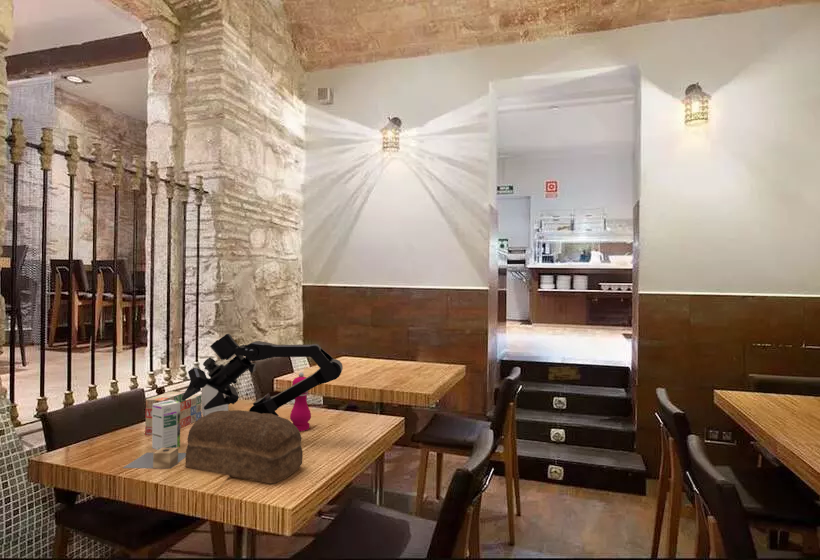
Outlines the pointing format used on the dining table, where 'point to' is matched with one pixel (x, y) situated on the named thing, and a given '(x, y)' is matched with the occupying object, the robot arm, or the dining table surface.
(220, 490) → the dining table surface
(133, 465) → the slate board
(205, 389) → the supplement box
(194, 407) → the stack of blocks
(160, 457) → the oak block
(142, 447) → the dining table surface
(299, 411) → the pepper mill
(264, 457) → the bread
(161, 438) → the syrup box
